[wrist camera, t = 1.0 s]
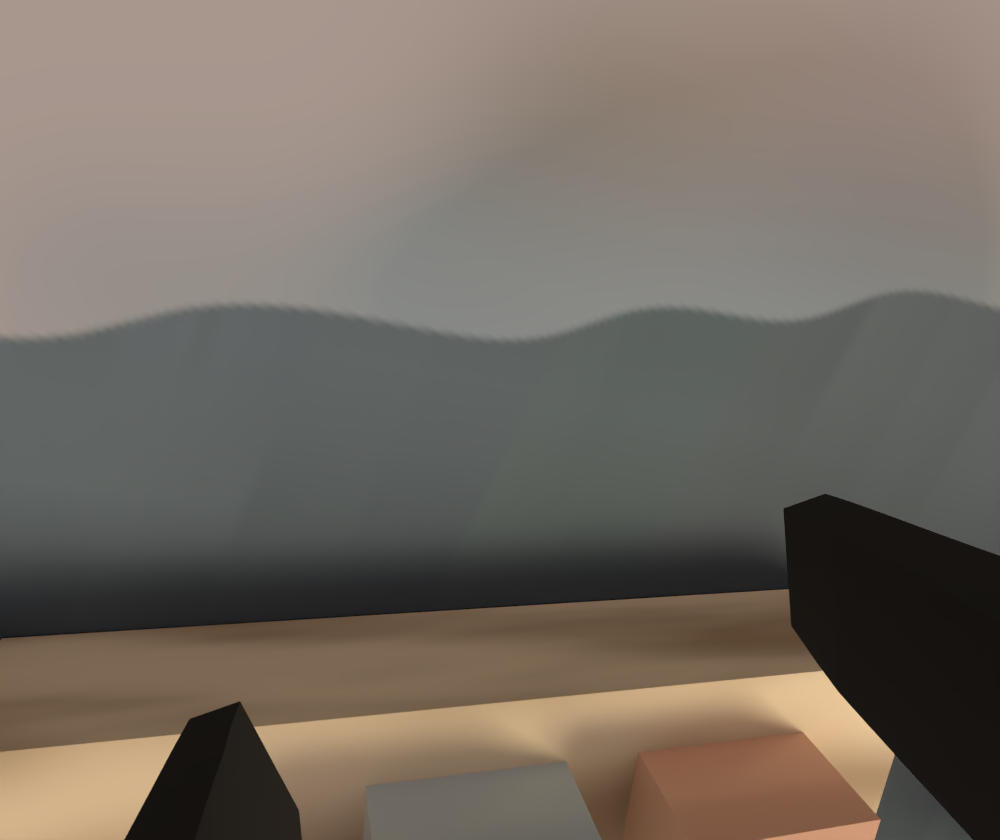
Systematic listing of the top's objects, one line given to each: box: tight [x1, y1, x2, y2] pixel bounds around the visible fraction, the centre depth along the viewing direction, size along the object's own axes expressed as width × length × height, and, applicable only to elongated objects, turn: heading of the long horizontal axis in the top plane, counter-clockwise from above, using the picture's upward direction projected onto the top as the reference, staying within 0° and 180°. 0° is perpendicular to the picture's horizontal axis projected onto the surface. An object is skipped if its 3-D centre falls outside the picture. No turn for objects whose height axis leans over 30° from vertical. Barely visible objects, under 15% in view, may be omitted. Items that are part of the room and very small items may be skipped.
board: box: [0, 589, 895, 840], centre depth 21 cm, size 9×24×4 cm, turn 84°
